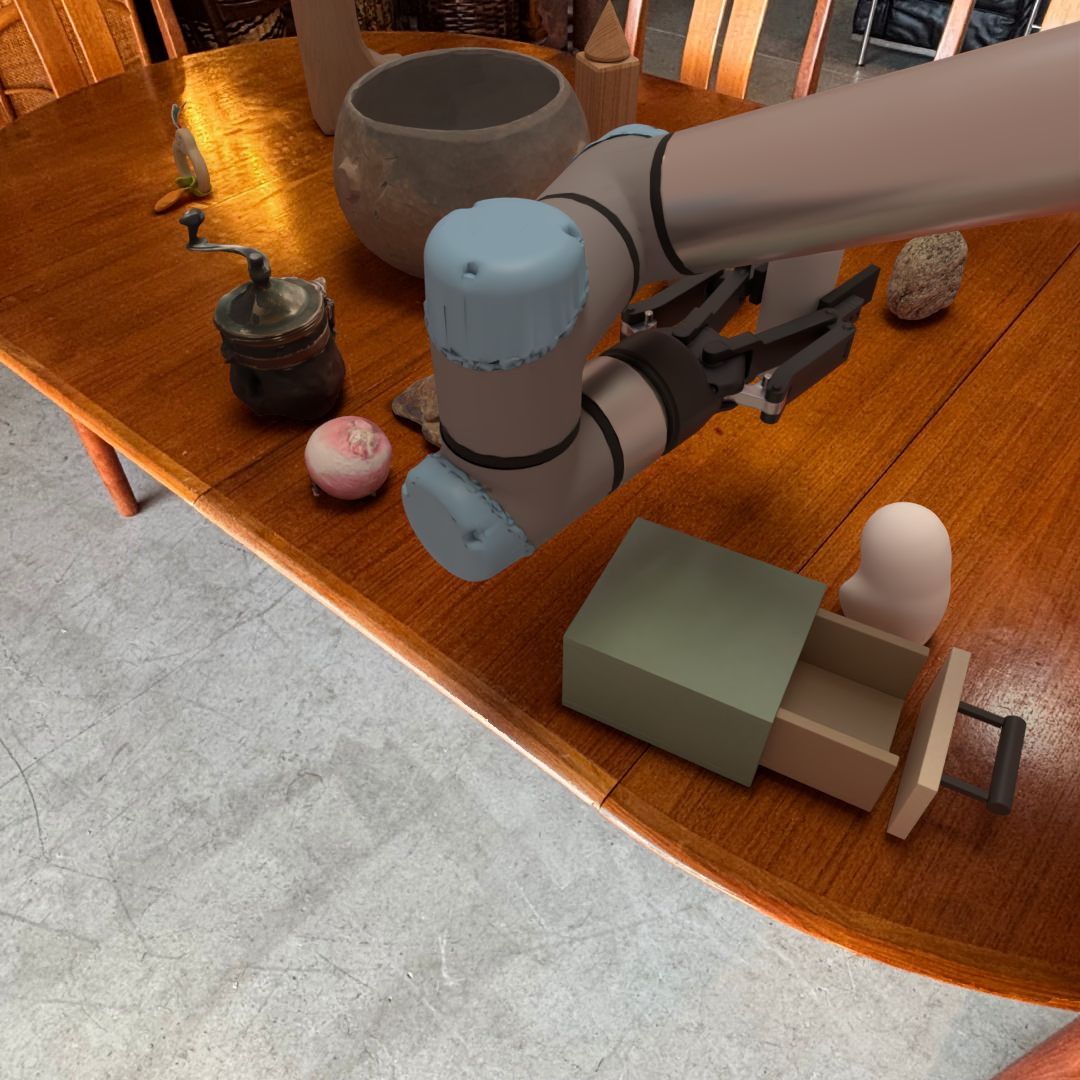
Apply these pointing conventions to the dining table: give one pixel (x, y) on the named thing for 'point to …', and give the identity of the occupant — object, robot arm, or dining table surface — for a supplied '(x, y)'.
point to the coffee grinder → (276, 336)
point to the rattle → (186, 165)
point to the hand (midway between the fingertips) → (838, 268)
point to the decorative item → (607, 77)
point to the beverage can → (796, 288)
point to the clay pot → (448, 142)
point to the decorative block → (331, 55)
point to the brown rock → (421, 407)
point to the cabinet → (689, 647)
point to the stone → (926, 275)
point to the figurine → (901, 573)
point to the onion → (348, 458)
